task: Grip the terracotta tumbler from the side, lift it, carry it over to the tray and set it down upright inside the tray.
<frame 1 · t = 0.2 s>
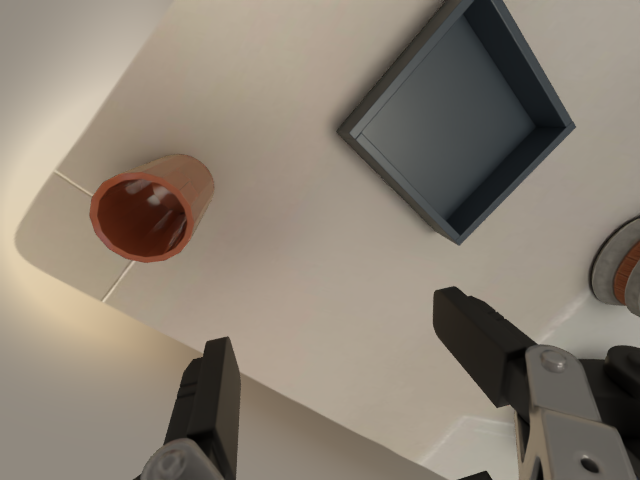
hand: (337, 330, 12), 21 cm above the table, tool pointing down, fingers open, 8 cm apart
tray: (443, 128, 31), on the table
tumbler: (182, 185, 28), on the table
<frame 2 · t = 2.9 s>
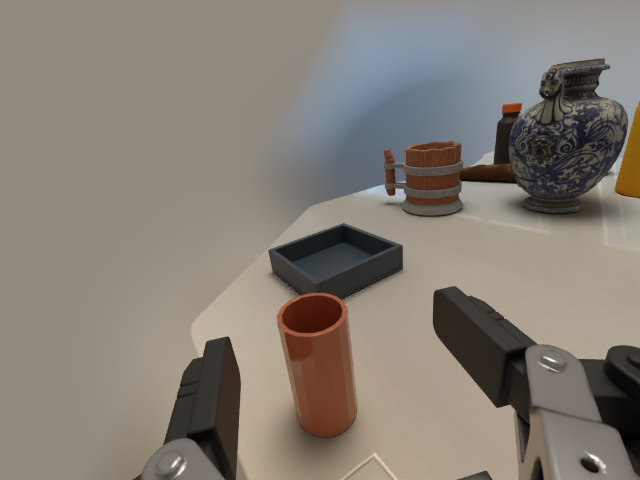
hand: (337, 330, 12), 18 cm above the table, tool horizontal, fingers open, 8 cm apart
decorative vase: (549, 206, 68), on the table
vinegar: (504, 170, 101), on the table
bread: (500, 181, 90), on the table
mug: (421, 207, 78), on the table
tray: (334, 270, 53), on the table
tumbler: (327, 408, 29), on the table
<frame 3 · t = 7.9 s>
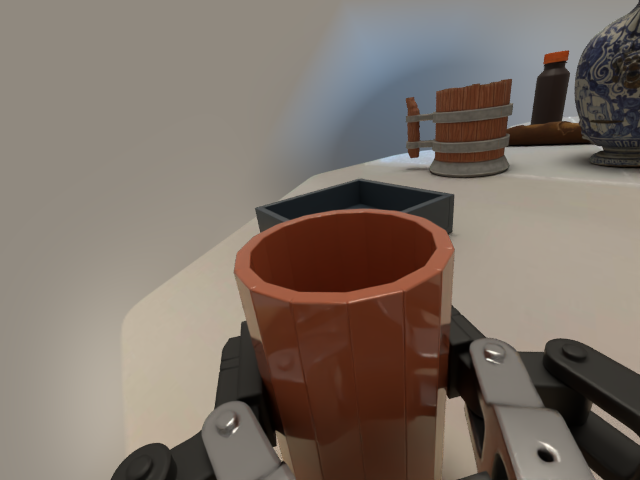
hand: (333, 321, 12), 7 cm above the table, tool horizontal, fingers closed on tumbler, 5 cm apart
decorative vase: (628, 162, 52), on the table
vinegar: (543, 136, 85), on the table
bread: (545, 145, 74), on the table
mug: (453, 170, 62), on the table
tray: (351, 236, 37), on the table
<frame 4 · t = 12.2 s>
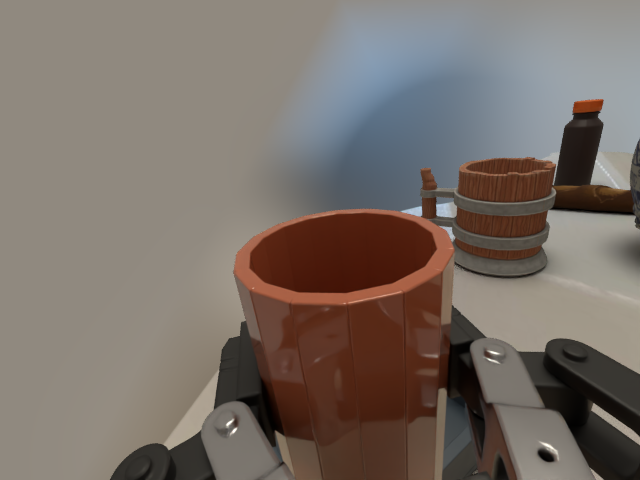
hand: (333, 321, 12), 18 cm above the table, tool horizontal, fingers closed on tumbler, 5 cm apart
vinegar: (570, 190, 75), on the table
bread: (577, 209, 64), on the table
mug: (476, 254, 52), on the table
tray: (362, 425, 27), on the table
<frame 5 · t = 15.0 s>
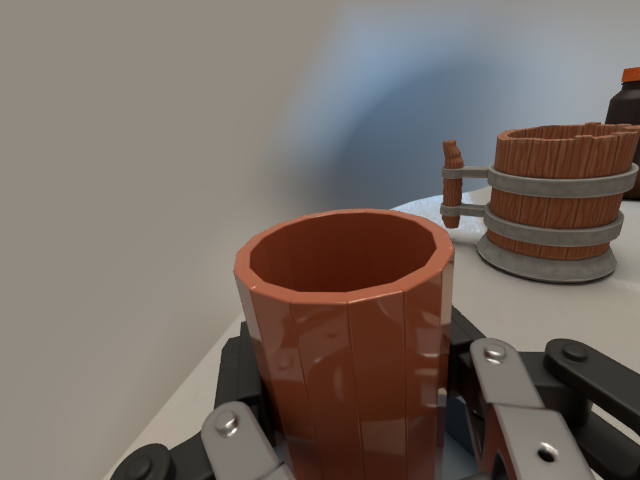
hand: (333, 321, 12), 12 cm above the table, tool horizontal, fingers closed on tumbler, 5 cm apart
vinegar: (613, 178, 63), on the table
mug: (514, 253, 40), on the table
when the fingers open (7 cm above the table, at t = 17.0 s): tumbler stays where it is, resting on tray.
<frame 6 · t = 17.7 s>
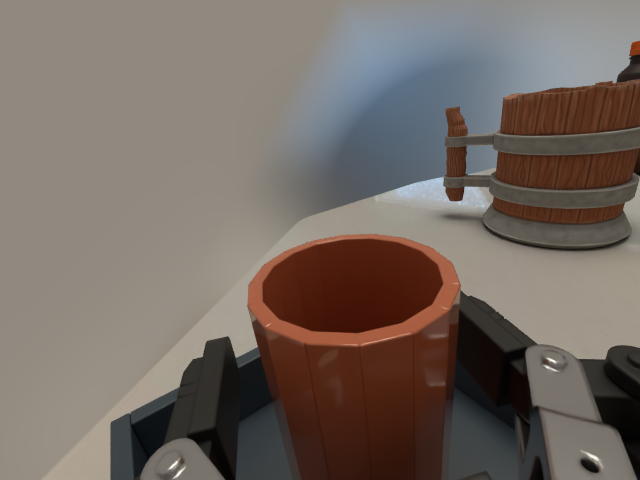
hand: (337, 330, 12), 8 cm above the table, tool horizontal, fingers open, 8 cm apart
vinegar: (621, 157, 61), on the table
mug: (522, 224, 38), on the table
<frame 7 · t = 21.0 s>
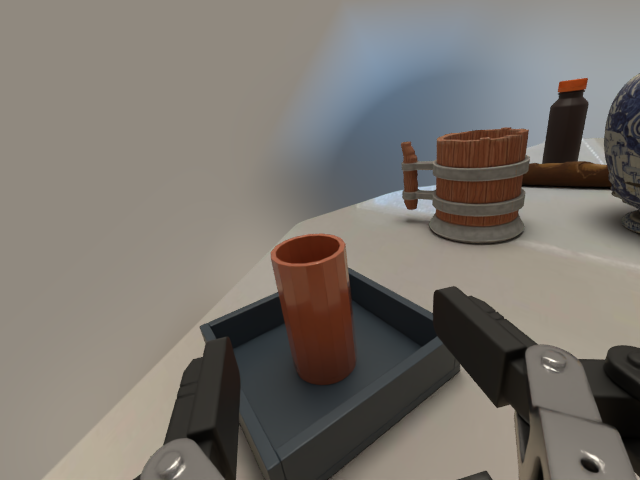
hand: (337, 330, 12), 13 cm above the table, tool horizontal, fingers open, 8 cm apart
vinegar: (557, 171, 75), on the table
bread: (561, 186, 65), on the table
mug: (457, 226, 53), on the table
tray: (325, 365, 28), on the table
tumbler: (325, 359, 27), point 1 cm above the table, touching tray
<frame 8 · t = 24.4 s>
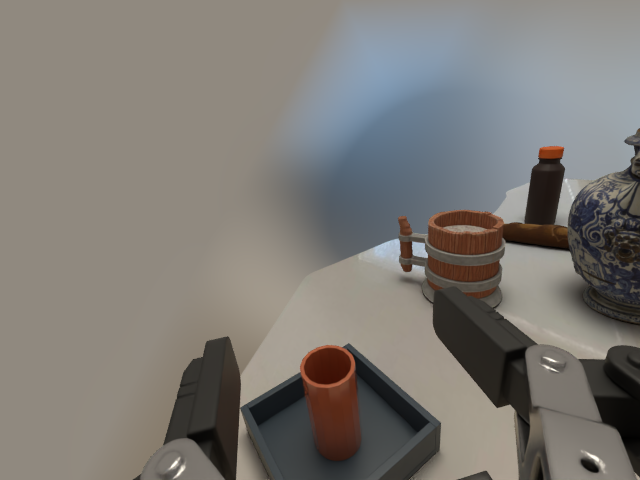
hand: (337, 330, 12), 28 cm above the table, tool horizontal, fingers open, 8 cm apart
decorative vase: (622, 305, 51), on the table
vinegar: (538, 223, 84), on the table
bread: (539, 244, 73), on the table
mug: (445, 289, 61), on the table
tray: (337, 439, 36), on the table
tumbler: (337, 435, 36), point 1 cm above the table, touching tray
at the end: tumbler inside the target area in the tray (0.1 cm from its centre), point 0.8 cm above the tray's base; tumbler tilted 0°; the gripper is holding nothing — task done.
